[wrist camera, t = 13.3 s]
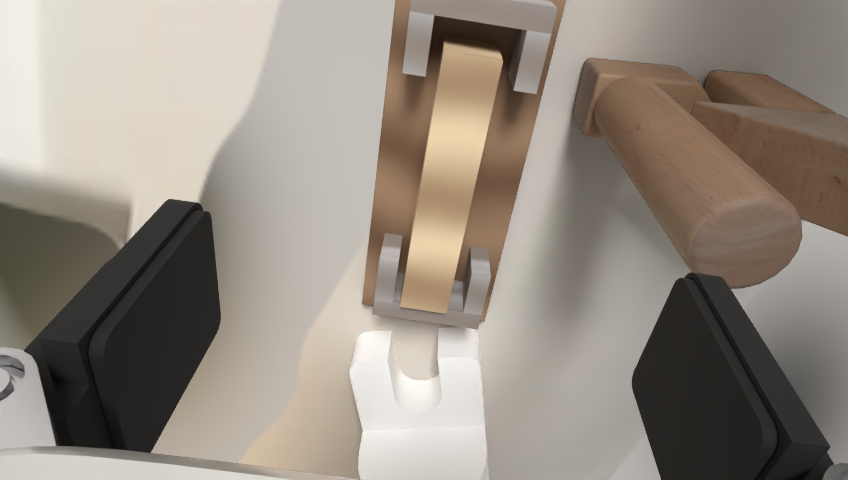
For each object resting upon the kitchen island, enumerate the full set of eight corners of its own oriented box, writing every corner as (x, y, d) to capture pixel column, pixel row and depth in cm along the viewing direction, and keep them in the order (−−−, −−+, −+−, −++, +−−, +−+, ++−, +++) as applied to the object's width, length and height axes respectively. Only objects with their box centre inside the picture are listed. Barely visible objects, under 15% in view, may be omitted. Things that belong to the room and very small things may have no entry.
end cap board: (404, -70, 30) (397, -67, 26) (572, -42, 30) (590, -35, 26) (364, 296, 42) (354, 335, 38) (483, 313, 42) (486, 354, 38)
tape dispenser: (386, 479, 53) (372, 601, 44) (354, 330, 44) (327, 443, 35) (489, 476, 52) (497, 600, 43) (477, 323, 43) (484, 438, 34)
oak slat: (444, 34, 31) (443, 50, 28) (497, 44, 31) (503, 60, 28) (404, 271, 39) (399, 306, 36) (446, 278, 39) (446, 313, 36)
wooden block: (746, 133, 34) (985, 320, 19) (570, 116, 34) (666, 289, 19) (770, 73, 32) (1058, 225, 17) (584, 54, 32) (704, 190, 17)
